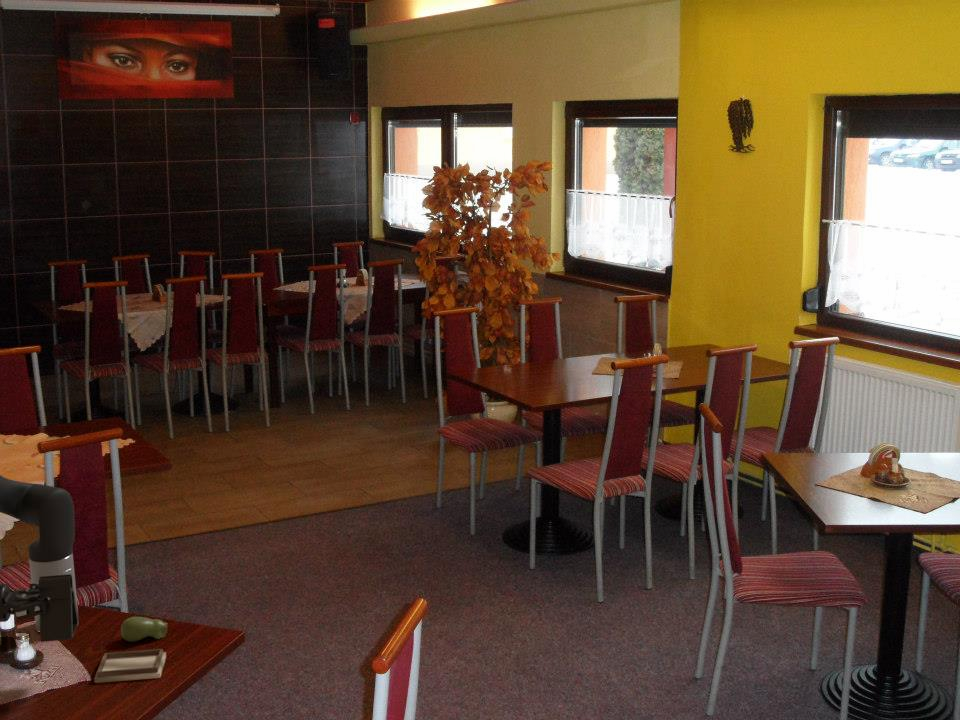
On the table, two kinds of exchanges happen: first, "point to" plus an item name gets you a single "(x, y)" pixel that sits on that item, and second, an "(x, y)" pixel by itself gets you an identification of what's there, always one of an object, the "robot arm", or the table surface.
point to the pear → (143, 628)
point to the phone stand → (58, 609)
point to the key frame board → (131, 665)
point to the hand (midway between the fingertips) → (72, 598)
